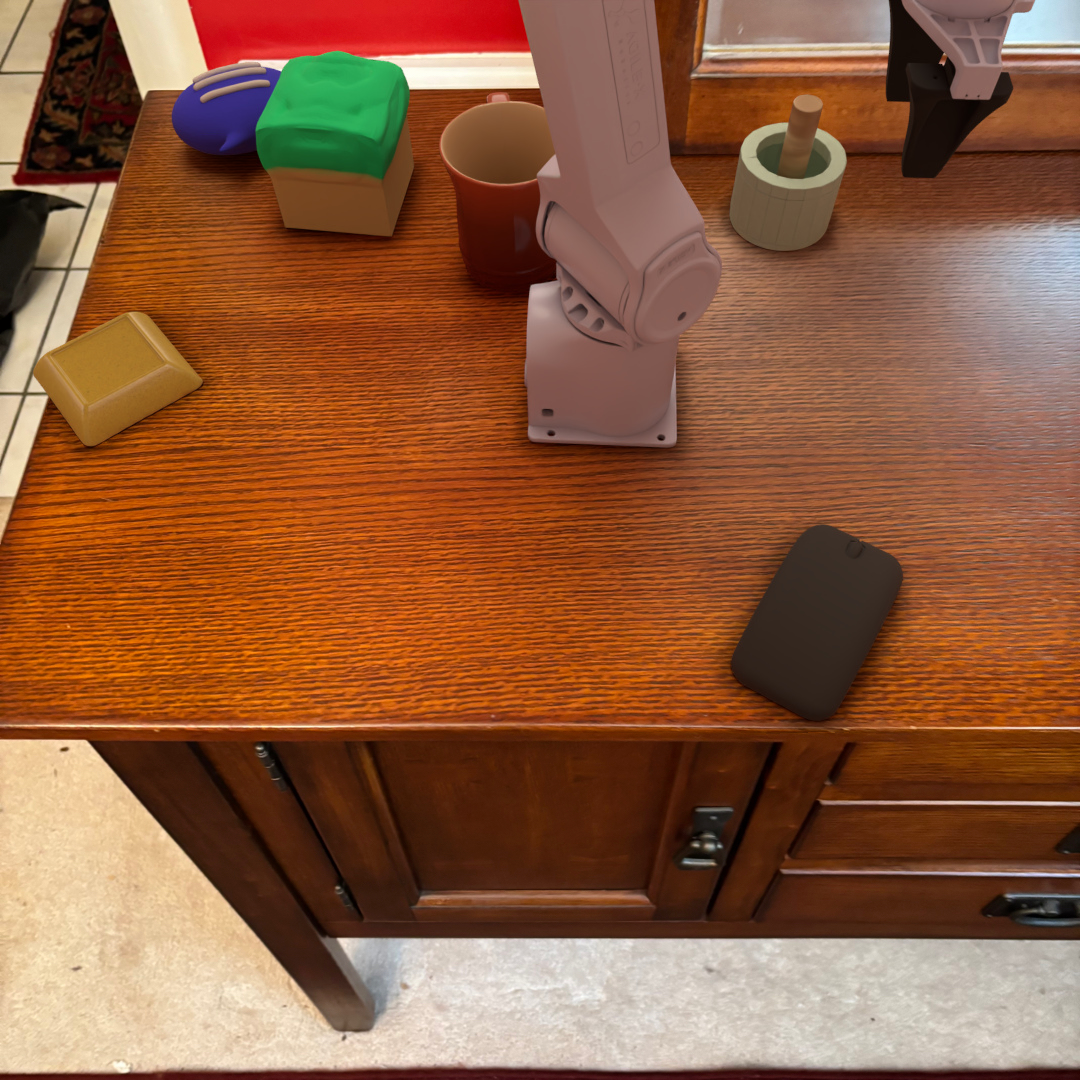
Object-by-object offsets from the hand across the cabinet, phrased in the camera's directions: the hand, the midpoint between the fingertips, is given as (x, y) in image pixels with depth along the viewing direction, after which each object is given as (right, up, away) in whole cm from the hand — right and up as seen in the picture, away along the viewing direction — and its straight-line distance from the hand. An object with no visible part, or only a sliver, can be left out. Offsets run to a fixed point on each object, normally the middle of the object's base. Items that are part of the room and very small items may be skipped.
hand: (909, 135), depth 62 cm
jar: (-6, -1, +11) cm, 13 cm away
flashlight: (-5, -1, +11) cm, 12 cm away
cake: (-38, +1, +13) cm, 40 cm away
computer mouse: (-8, -31, -7) cm, 32 cm away
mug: (-26, -4, +10) cm, 28 cm away
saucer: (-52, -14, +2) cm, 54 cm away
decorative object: (-46, +4, +11) cm, 47 cm away
